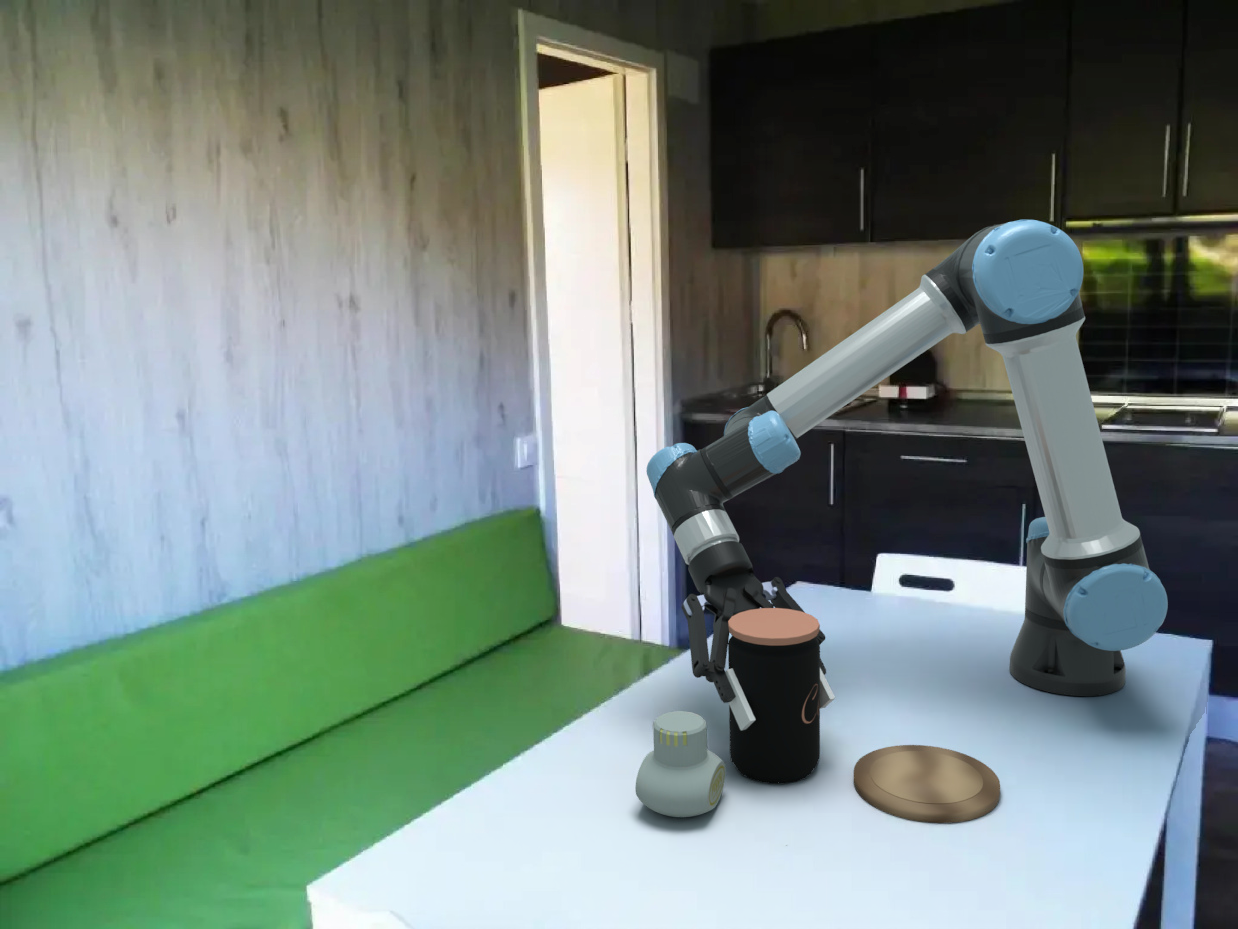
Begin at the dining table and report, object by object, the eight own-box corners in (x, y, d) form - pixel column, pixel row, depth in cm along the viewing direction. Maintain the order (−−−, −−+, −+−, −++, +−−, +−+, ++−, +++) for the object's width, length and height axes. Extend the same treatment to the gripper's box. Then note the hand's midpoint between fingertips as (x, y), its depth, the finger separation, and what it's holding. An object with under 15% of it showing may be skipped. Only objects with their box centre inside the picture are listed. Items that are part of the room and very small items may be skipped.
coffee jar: (819, 790, 120) (819, 640, 117) (725, 783, 122) (723, 636, 119) (820, 747, 130) (820, 608, 127) (734, 742, 132) (732, 606, 129)
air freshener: (662, 777, 124) (660, 697, 123) (730, 787, 122) (728, 706, 120) (630, 823, 114) (627, 737, 113) (703, 835, 112) (701, 747, 110)
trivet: (968, 751, 128) (968, 741, 128) (1024, 819, 112) (1024, 807, 112) (838, 757, 128) (838, 747, 127) (875, 827, 112) (876, 815, 112)
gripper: (776, 555, 141) (851, 705, 130) (623, 584, 131) (692, 750, 120) (800, 525, 135) (881, 679, 125) (643, 552, 125) (716, 723, 114)
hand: (788, 714), depth 122 cm, fingers closed on coffee jar, 11 cm apart
